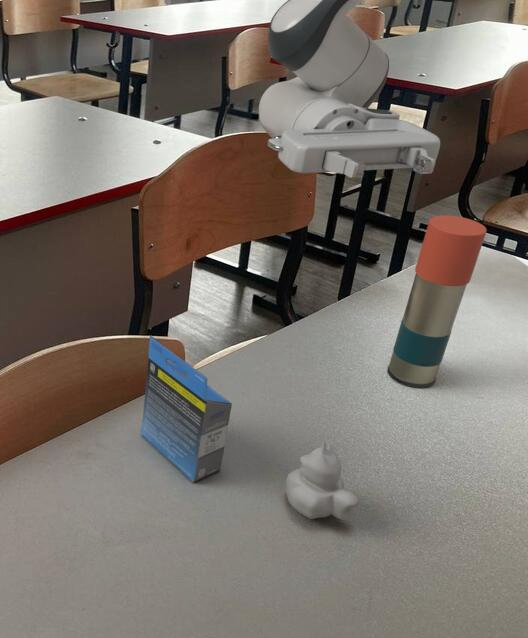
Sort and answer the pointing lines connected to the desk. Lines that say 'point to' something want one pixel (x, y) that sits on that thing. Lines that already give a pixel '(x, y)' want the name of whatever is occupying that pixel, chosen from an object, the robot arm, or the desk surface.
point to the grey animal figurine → (320, 486)
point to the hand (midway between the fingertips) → (394, 169)
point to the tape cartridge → (183, 414)
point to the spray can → (424, 332)
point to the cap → (450, 250)
